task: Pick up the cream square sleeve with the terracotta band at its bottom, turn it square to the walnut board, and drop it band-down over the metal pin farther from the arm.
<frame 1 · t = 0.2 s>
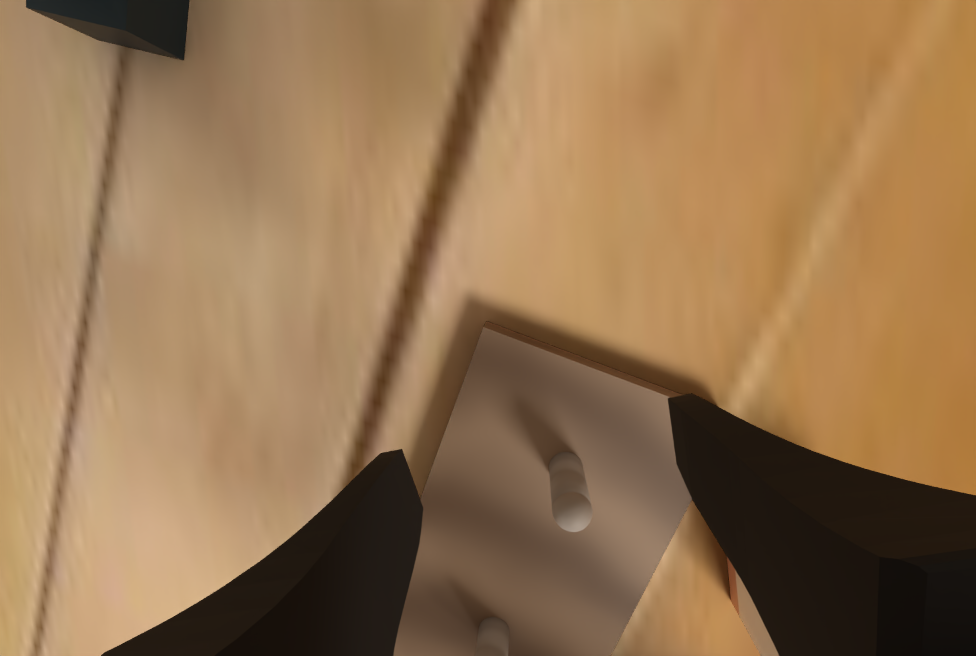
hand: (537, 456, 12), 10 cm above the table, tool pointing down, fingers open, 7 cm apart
pin board: (528, 533, 24), on the table
sleeve: (778, 554, 23), on the table
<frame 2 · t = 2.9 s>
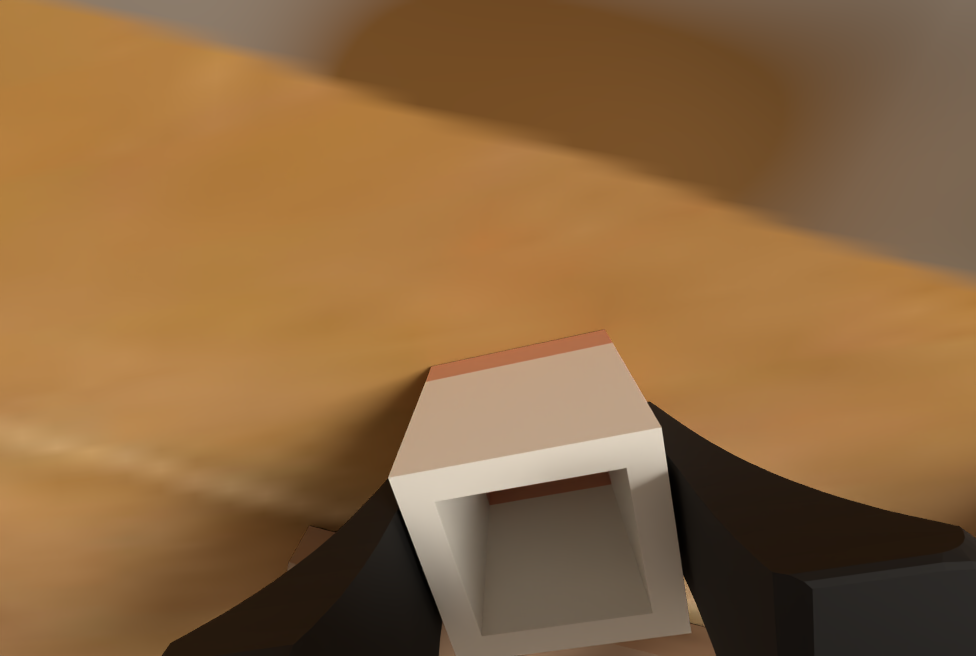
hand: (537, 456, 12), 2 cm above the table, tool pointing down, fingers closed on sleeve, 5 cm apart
sleeve: (534, 424, 14), on the table, touching gripper
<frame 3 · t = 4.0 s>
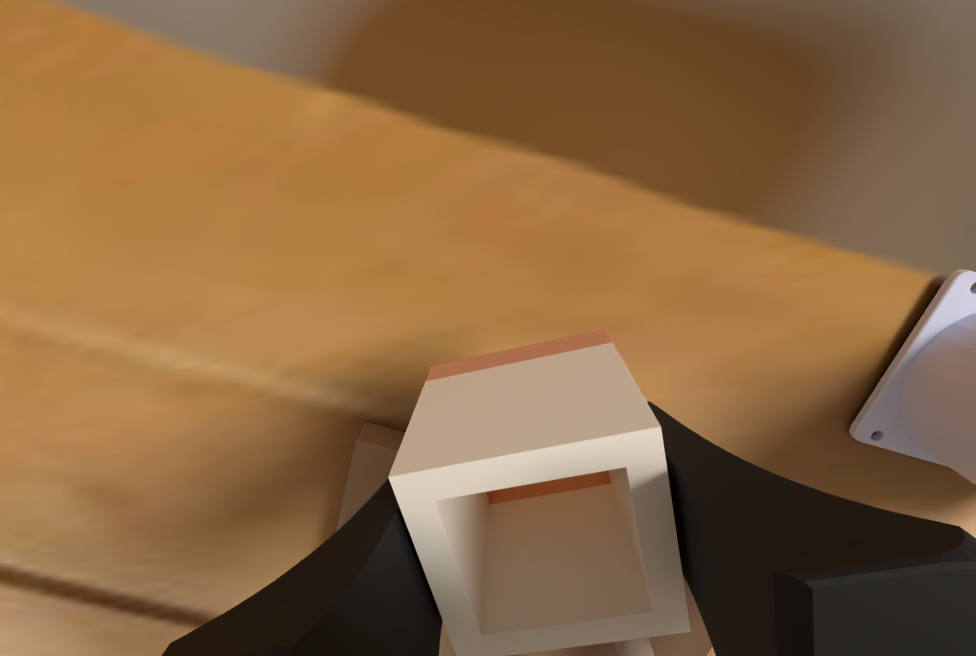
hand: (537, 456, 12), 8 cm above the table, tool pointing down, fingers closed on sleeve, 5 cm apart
pin board: (529, 565, 24), on the table
sleeve: (534, 423, 14), point 7 cm above the table, touching gripper
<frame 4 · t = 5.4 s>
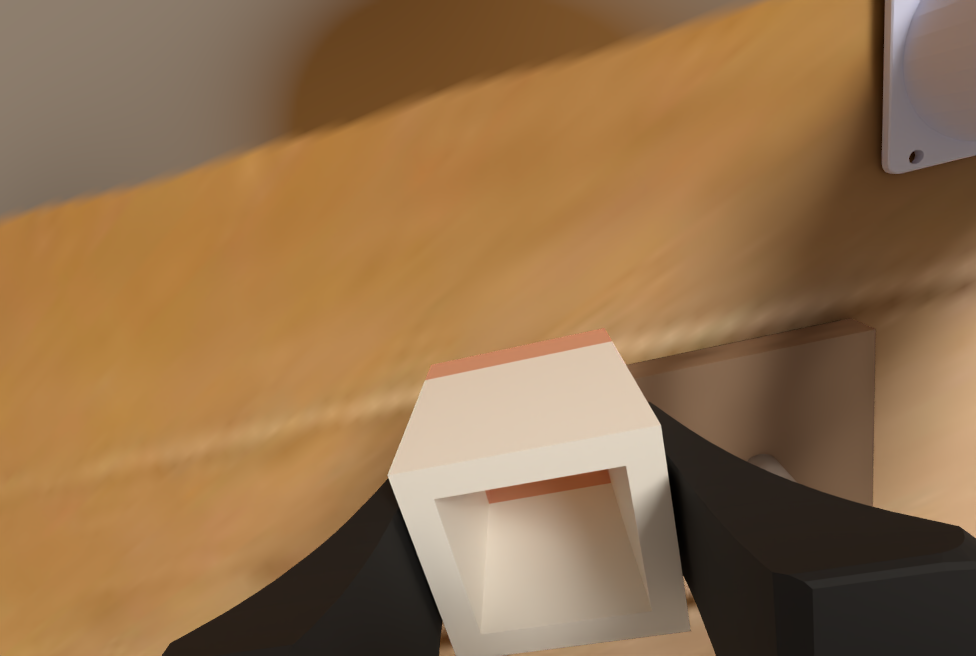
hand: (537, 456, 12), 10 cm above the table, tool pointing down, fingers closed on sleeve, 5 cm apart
pin board: (645, 467, 24), on the table
sleeve: (534, 422, 14), point 8 cm above the table, touching gripper
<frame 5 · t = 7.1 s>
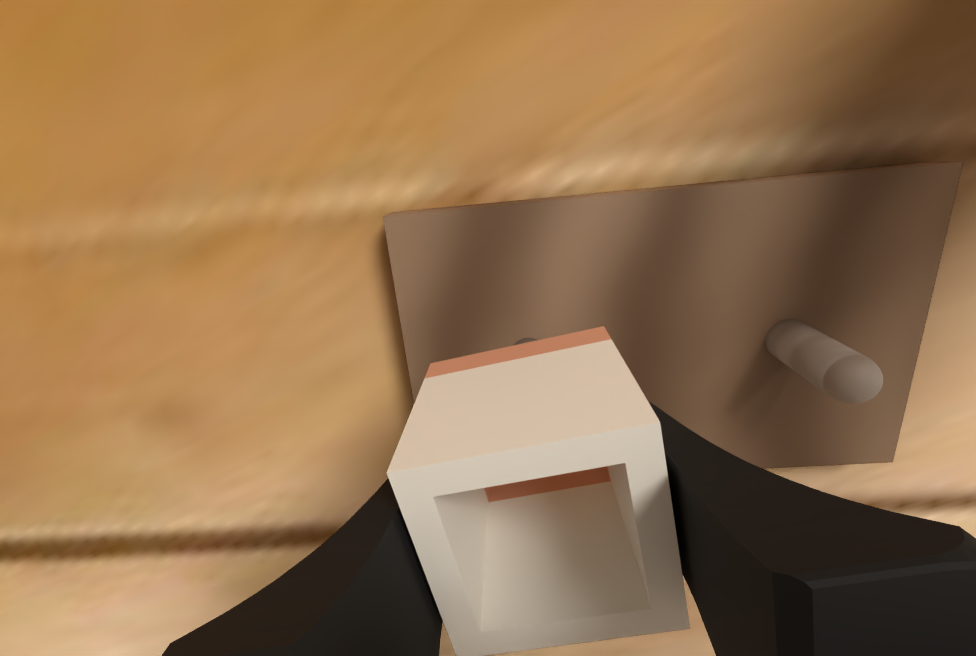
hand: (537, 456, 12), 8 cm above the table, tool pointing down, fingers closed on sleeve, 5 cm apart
pin board: (644, 334, 20), on the table
sleeve: (533, 420, 14), point 7 cm above the table, touching gripper
when the fingers open (4 cm above the table, at t = 8.4 s): sleeve drops 1 cm, resting on pin board.
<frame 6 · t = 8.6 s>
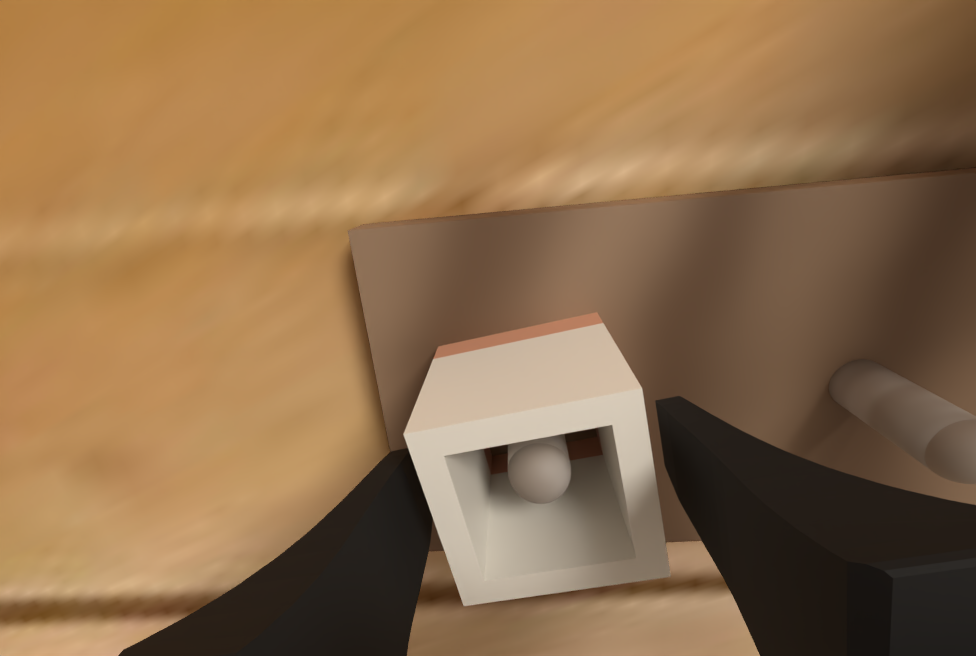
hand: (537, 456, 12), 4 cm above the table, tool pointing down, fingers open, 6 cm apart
pin board: (674, 372, 16), on the table
sleeve: (532, 400, 15), point 1 cm above the table, touching pin board
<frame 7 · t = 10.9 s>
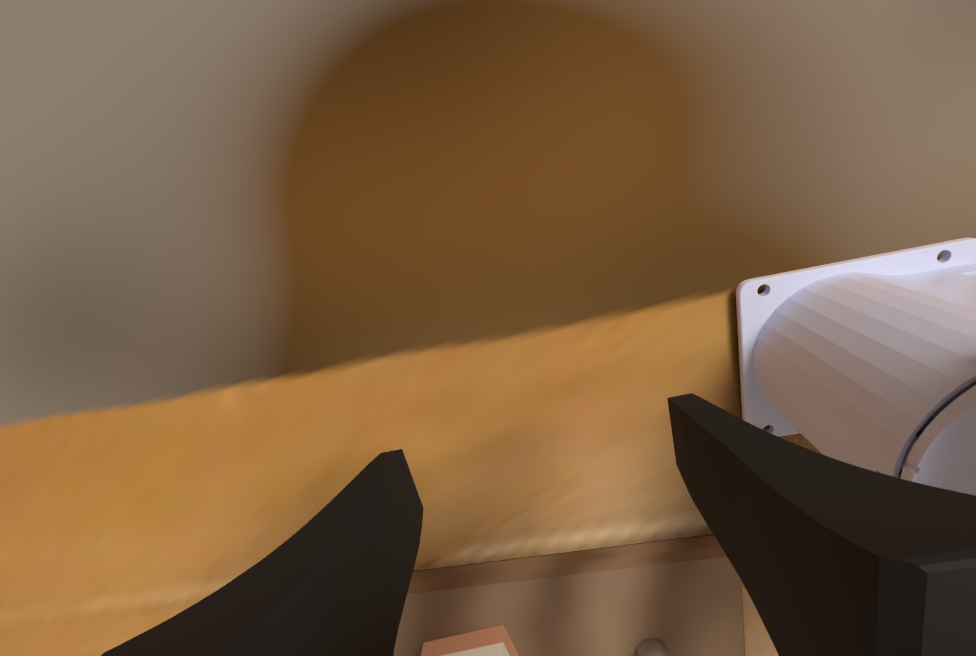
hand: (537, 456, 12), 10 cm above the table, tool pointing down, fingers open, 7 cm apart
pin board: (560, 631, 28), on the table
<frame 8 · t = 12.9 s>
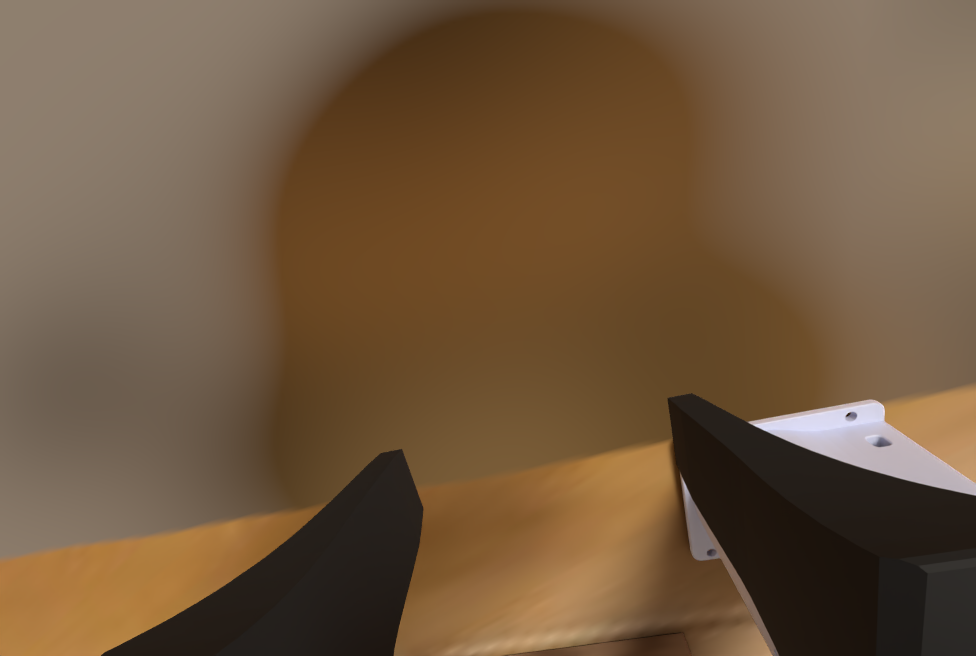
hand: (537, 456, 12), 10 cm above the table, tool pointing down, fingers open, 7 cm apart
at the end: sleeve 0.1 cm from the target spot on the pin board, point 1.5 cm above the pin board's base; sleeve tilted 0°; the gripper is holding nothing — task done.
